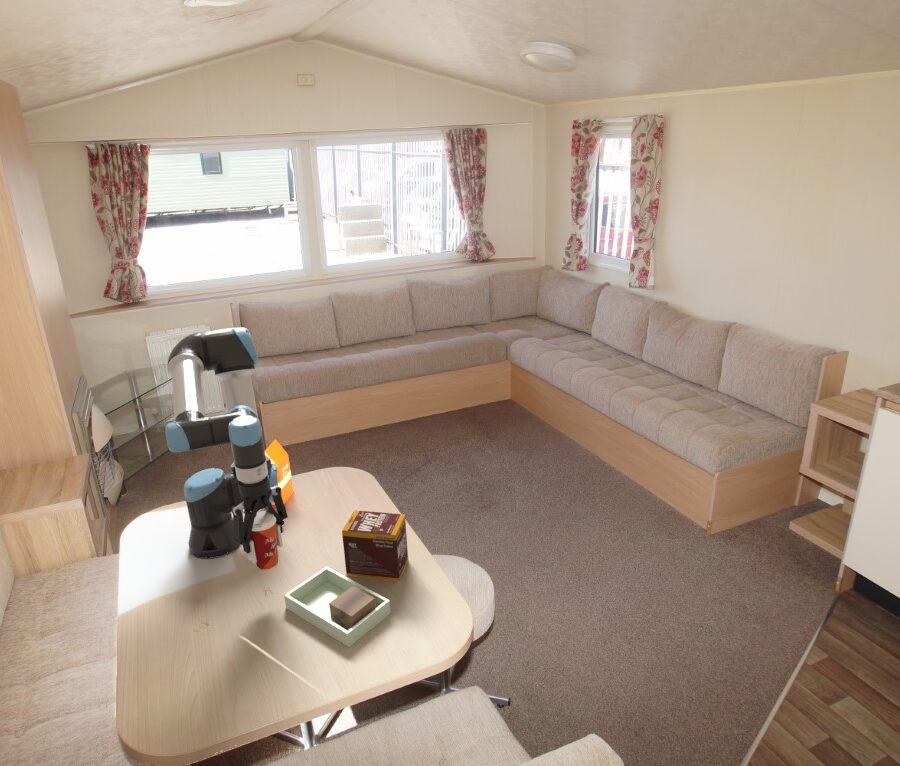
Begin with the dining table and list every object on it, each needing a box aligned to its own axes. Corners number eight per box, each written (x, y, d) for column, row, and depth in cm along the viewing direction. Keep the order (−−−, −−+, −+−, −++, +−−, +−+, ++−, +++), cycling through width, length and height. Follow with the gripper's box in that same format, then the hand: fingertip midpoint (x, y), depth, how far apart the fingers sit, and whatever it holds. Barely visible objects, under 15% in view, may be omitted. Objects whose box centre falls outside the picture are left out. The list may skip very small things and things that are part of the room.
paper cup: (278, 572, 170) (271, 526, 165) (248, 572, 170) (240, 527, 165) (285, 553, 178) (279, 509, 172) (257, 553, 178) (249, 509, 172)
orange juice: (261, 504, 221) (253, 450, 214) (272, 490, 229) (264, 438, 222) (284, 505, 220) (275, 451, 213) (294, 491, 228) (286, 439, 221)
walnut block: (331, 622, 166) (329, 603, 164) (354, 604, 172) (352, 586, 170) (353, 635, 161) (351, 616, 159) (376, 617, 167) (374, 598, 165)
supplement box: (399, 583, 180) (395, 535, 175) (346, 578, 183) (340, 530, 178) (409, 560, 190) (406, 513, 184) (358, 555, 193) (353, 509, 187)
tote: (286, 609, 172) (284, 595, 170) (328, 580, 183) (326, 566, 181) (349, 649, 158) (347, 634, 157) (391, 614, 169) (389, 600, 167)
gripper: (226, 500, 154) (241, 579, 163) (295, 464, 169) (305, 538, 178) (207, 490, 159) (223, 567, 168) (276, 456, 173) (287, 529, 182)
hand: (265, 552), depth 173 cm, fingers closed on paper cup, 8 cm apart
